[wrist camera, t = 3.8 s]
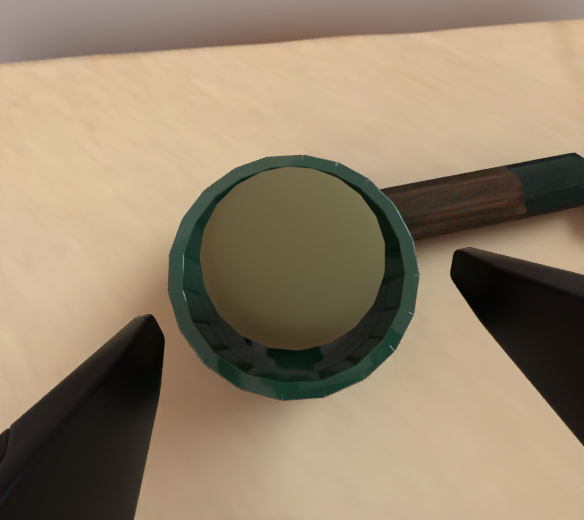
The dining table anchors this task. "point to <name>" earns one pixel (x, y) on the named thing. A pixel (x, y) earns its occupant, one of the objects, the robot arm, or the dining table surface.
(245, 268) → the olive pestle
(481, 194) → the kitchen knife
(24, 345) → the dining table surface
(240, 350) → the pot
